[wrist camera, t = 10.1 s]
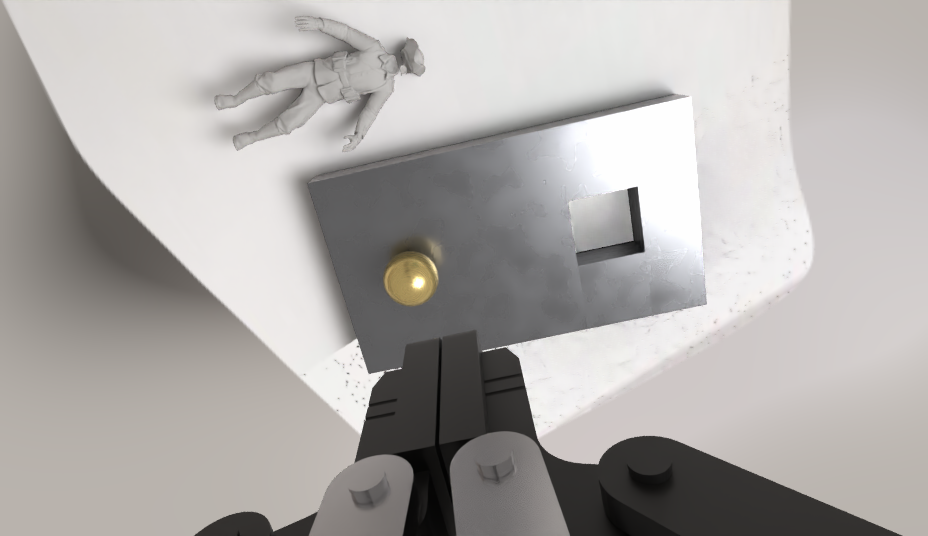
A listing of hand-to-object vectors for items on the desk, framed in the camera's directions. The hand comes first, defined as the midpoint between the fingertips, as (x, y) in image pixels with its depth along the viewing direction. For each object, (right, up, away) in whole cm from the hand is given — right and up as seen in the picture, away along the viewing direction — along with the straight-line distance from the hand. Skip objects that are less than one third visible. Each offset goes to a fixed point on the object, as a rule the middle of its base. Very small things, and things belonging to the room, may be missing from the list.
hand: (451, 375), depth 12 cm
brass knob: (-3, +2, +24) cm, 24 cm away
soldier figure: (-14, +12, +23) cm, 29 cm away
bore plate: (+4, +5, +27) cm, 28 cm away
